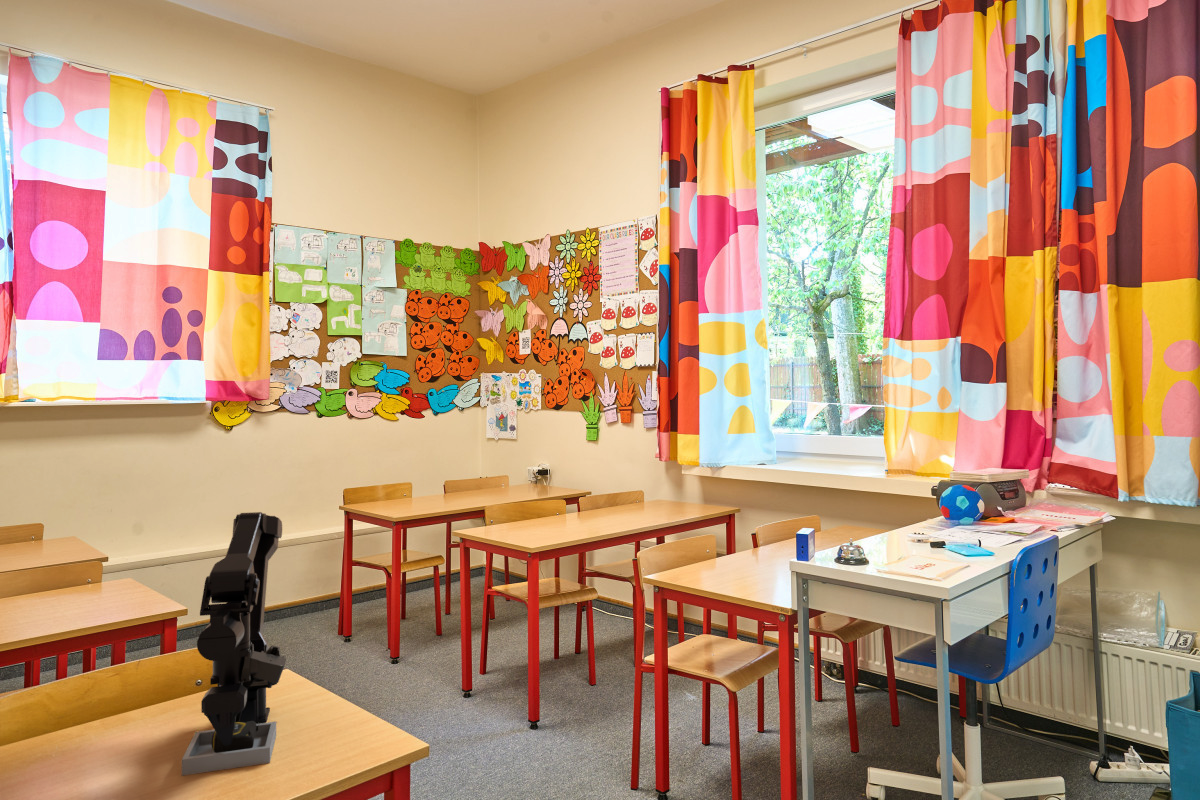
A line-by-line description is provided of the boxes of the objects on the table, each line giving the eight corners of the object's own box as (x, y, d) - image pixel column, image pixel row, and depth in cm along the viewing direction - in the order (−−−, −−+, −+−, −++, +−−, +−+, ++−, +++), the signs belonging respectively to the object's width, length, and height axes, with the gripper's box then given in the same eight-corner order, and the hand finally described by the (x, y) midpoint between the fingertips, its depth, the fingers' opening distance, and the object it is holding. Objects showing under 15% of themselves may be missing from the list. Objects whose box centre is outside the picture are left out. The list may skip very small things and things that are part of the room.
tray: (195, 746, 130) (195, 731, 130) (276, 735, 134) (276, 721, 134) (181, 775, 119) (181, 759, 119) (269, 762, 123) (269, 747, 123)
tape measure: (253, 756, 125) (253, 733, 125) (207, 762, 123) (207, 739, 123) (258, 739, 131) (258, 717, 131) (215, 744, 129) (215, 722, 129)
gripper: (277, 653, 121) (277, 750, 120) (287, 622, 138) (287, 706, 138) (200, 661, 117) (200, 761, 117) (220, 628, 135) (220, 714, 135)
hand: (231, 733), depth 127 cm, fingers open, 9 cm apart
